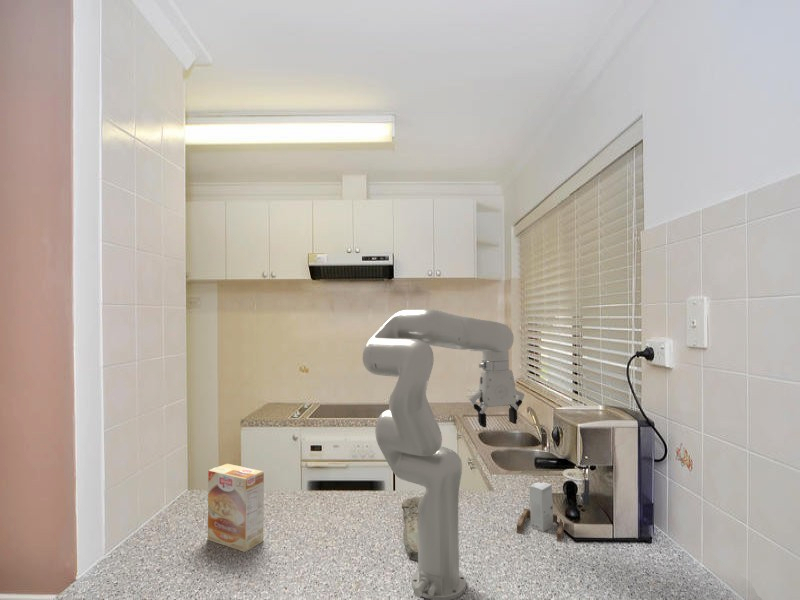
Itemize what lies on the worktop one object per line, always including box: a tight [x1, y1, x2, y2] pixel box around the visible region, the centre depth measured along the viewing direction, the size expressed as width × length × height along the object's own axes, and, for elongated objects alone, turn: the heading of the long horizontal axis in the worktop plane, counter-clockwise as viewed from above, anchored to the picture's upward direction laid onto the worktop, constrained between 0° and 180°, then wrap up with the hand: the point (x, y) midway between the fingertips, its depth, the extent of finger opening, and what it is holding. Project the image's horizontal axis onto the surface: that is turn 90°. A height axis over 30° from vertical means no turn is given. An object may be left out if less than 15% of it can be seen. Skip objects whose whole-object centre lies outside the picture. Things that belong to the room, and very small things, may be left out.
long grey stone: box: [401, 496, 423, 562], centre depth 130 cm, size 35×5×10 cm
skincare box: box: [529, 481, 554, 533], centre depth 131 cm, size 6×4×12 cm
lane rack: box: [516, 508, 565, 542], centre depth 130 cm, size 12×12×2 cm
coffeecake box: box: [207, 463, 265, 553], centre depth 124 cm, size 15×7×20 cm, turn 62°
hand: (498, 424), depth 129 cm, fingers open, 9 cm apart
